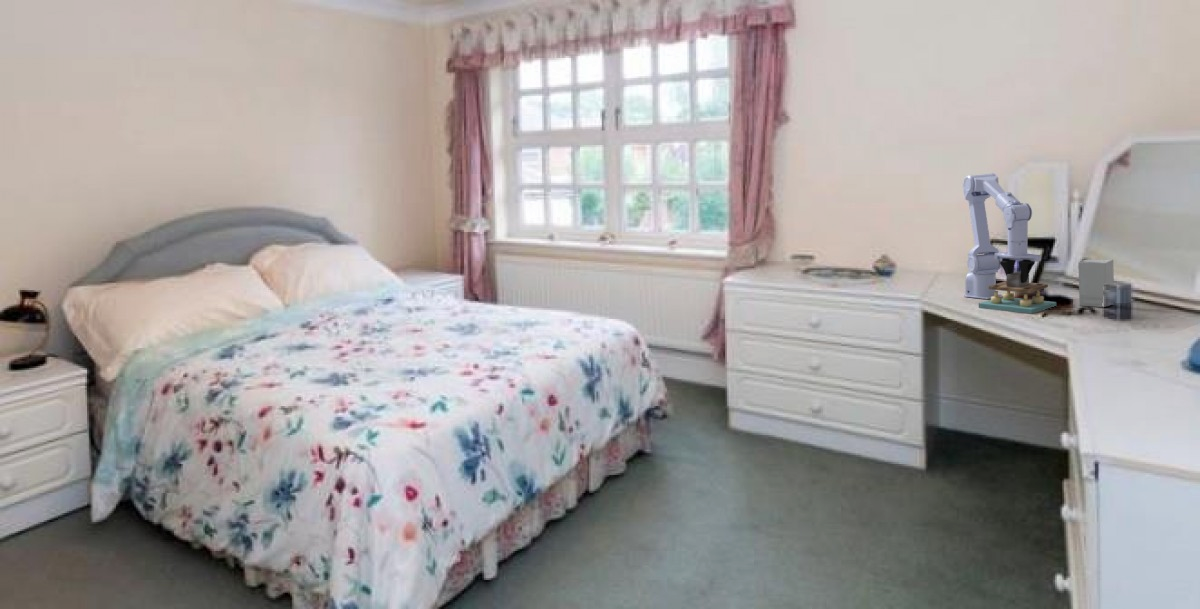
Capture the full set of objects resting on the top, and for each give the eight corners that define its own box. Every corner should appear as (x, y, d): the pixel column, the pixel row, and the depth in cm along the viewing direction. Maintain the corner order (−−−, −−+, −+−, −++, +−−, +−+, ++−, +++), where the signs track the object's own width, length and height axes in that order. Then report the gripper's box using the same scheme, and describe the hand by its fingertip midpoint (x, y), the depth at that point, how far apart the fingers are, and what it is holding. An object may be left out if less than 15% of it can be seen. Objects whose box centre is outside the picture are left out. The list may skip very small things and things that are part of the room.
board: (988, 289, 250) (988, 274, 249) (1006, 283, 255) (1006, 269, 254) (1030, 293, 238) (1029, 277, 237) (1047, 287, 243) (1047, 272, 242)
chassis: (978, 307, 252) (978, 291, 251) (1003, 300, 259) (1003, 285, 258) (1031, 313, 236) (1031, 297, 235) (1056, 306, 243) (1056, 290, 242)
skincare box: (1114, 305, 238) (1115, 259, 236) (1105, 308, 235) (1107, 262, 232) (1085, 302, 245) (1087, 258, 242) (1077, 305, 242) (1078, 260, 239)
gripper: (1046, 240, 239) (1046, 281, 242) (1003, 238, 252) (1003, 278, 254) (1034, 243, 236) (1033, 284, 238) (990, 241, 248) (990, 281, 251)
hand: (1017, 281), depth 246 cm, fingers closed on board, 4 cm apart
